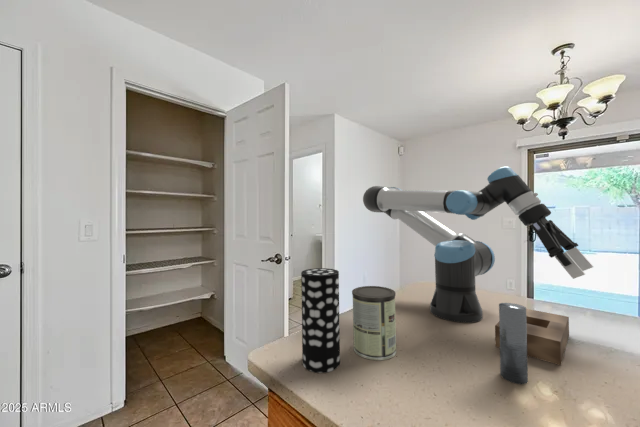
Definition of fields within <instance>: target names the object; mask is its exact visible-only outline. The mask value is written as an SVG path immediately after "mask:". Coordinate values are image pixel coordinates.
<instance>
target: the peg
mask: <svg viewBox="0 0 640 427" xmlns="http://www.w3.org/2000/svg"><path fill="white" fill-rule="evenodd" d="M526 309H527V307H526V306H524V305H521V304H517V303H513V302H512V303H511V302H500V303H498V314H499V315H498V318H499V321H498V322H499V328H500V348H499V358H500V359H499V360H500V361H499V366H500V371H499V372H500V376H501V377H502V378H503V379H504V380H505V381H507V382H509V381H510V383H513V384H517V385H526V384H527V382H529V374H528V373H529V372H528V369H529V367H528V365H529V364H528V356H527V320H526Z"/></svg>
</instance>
